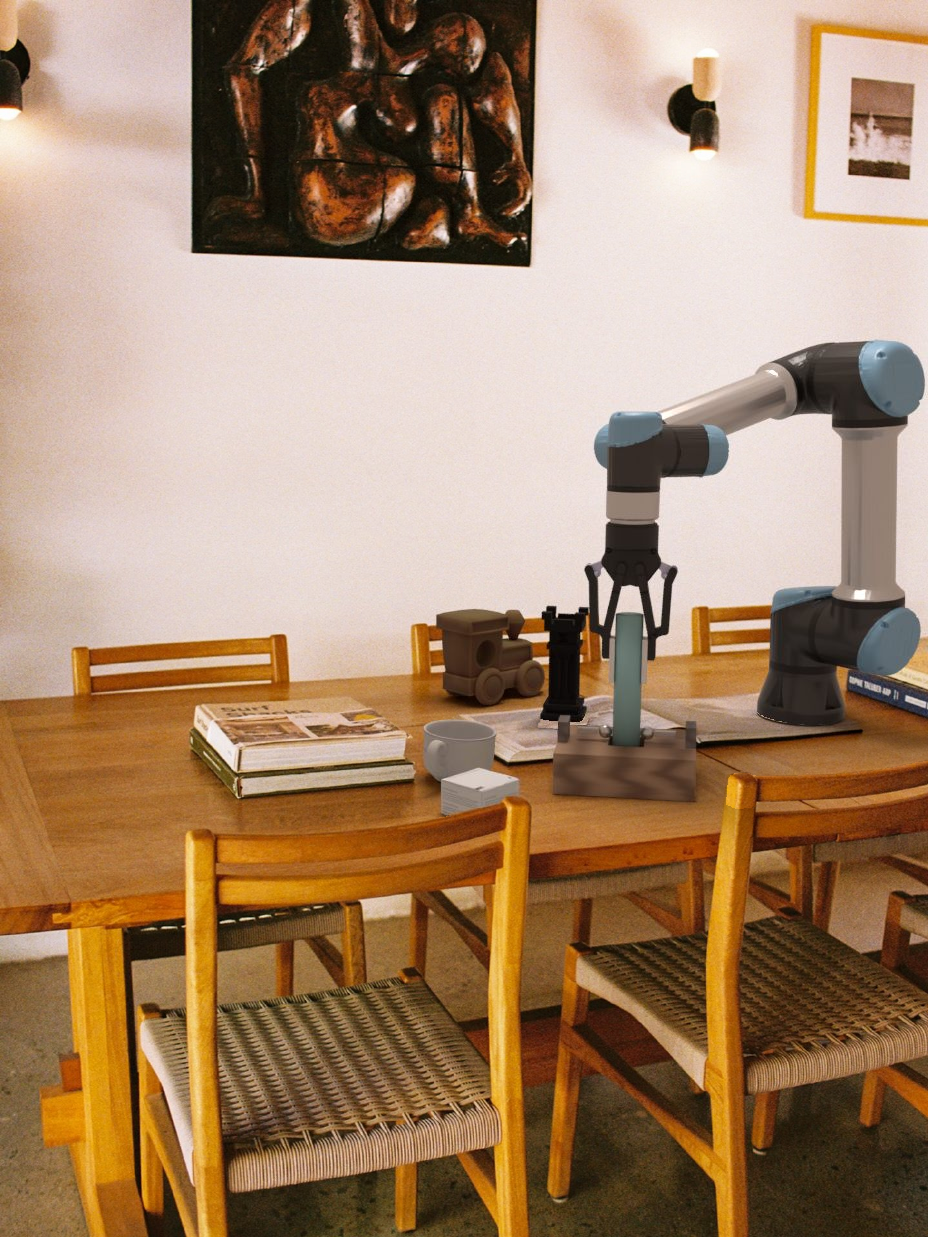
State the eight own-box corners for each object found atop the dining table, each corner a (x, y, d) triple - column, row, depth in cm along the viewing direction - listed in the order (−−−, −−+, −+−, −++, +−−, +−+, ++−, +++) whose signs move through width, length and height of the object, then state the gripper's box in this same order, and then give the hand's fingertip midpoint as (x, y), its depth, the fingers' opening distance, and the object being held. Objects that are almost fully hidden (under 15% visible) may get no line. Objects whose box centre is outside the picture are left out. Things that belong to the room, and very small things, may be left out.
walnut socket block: (693, 768, 191) (695, 711, 189) (694, 801, 176) (697, 739, 174) (562, 761, 194) (563, 705, 193) (552, 793, 179) (553, 732, 177)
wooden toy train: (472, 711, 225) (473, 620, 222) (432, 700, 234) (431, 612, 231) (551, 694, 238) (552, 608, 235) (509, 683, 247) (510, 600, 244)
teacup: (454, 764, 193) (454, 714, 192) (510, 778, 186) (511, 726, 185) (393, 786, 182) (393, 733, 181) (450, 801, 176) (450, 746, 174)
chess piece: (584, 730, 212) (586, 614, 209) (537, 728, 214) (538, 612, 210) (588, 719, 220) (591, 606, 217) (543, 716, 222) (545, 605, 218)
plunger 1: (612, 736, 185) (612, 723, 185) (611, 740, 183) (612, 726, 183) (578, 734, 186) (578, 721, 186) (577, 738, 184) (577, 725, 184)
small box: (478, 801, 176) (478, 766, 175) (520, 814, 171) (521, 778, 170) (439, 814, 171) (439, 778, 170) (481, 828, 165) (481, 790, 164)
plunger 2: (675, 739, 184) (675, 726, 183) (675, 743, 182) (675, 729, 181) (640, 737, 184) (640, 724, 184) (639, 741, 183) (640, 728, 182)
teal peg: (639, 758, 186) (644, 612, 182) (638, 766, 182) (643, 617, 178) (612, 757, 187) (616, 611, 183) (611, 764, 183) (615, 616, 179)
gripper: (692, 519, 180) (687, 678, 184) (574, 517, 183) (571, 673, 187) (693, 524, 173) (687, 689, 177) (570, 522, 176) (567, 684, 180)
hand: (627, 681), depth 182 cm, fingers closed on teal peg, 4 cm apart
